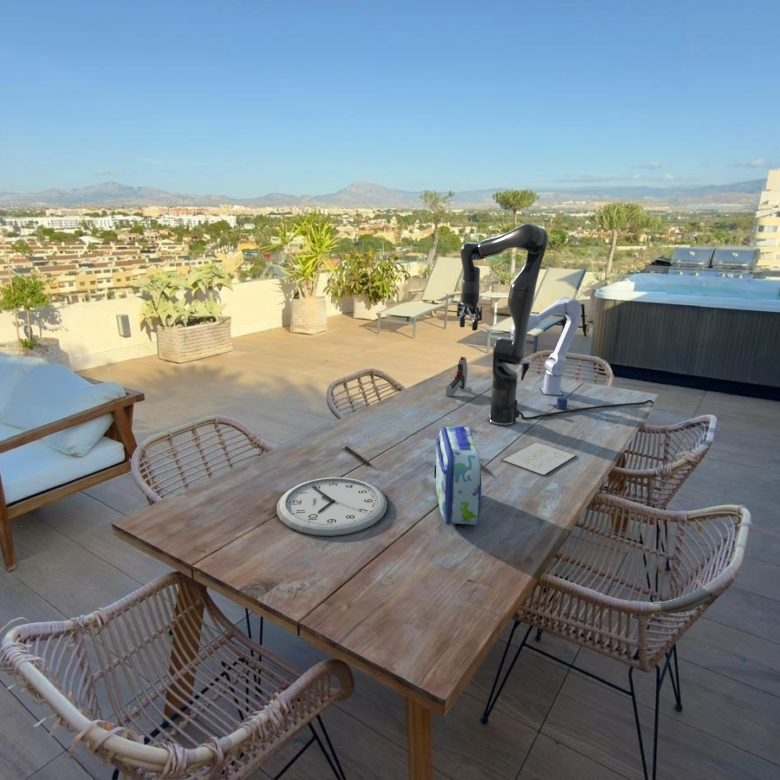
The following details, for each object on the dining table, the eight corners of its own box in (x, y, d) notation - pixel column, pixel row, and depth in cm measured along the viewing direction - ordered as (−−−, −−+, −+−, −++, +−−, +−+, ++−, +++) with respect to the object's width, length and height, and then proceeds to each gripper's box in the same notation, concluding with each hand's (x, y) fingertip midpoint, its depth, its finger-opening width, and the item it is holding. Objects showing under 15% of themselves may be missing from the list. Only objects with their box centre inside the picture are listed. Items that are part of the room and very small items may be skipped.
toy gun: (446, 363, 232) (463, 355, 243) (446, 397, 237) (462, 387, 249) (450, 364, 230) (467, 356, 242) (450, 398, 236) (466, 388, 247)
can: (554, 407, 225) (555, 397, 224) (561, 405, 227) (563, 396, 225) (560, 410, 222) (561, 400, 220) (568, 408, 223) (569, 399, 222)
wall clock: (392, 527, 129) (268, 531, 127) (391, 533, 130) (269, 537, 127) (383, 473, 158) (282, 475, 155) (383, 478, 158) (282, 480, 156)
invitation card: (535, 442, 186) (575, 454, 176) (535, 442, 187) (575, 455, 176) (502, 459, 172) (543, 474, 162) (502, 460, 172) (543, 475, 162)
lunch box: (432, 483, 156) (435, 417, 149) (468, 484, 156) (473, 418, 149) (439, 532, 131) (443, 455, 125) (482, 533, 131) (488, 456, 124)
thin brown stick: (344, 448, 179) (344, 445, 179) (346, 448, 179) (346, 445, 179) (367, 464, 167) (367, 462, 167) (368, 464, 167) (368, 461, 167)
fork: (483, 474, 162) (483, 469, 161) (463, 454, 176) (463, 448, 176) (491, 474, 162) (491, 468, 162) (470, 453, 177) (470, 447, 176)
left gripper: (488, 292, 219) (485, 330, 224) (466, 289, 231) (464, 325, 236) (474, 293, 216) (471, 332, 221) (453, 289, 227) (451, 326, 232)
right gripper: (500, 352, 234) (498, 381, 238) (533, 353, 233) (530, 382, 237) (499, 348, 241) (497, 376, 245) (531, 349, 239) (528, 378, 243)
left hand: (468, 328), depth 228 cm, fingers open, 8 cm apart
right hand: (513, 379), depth 241 cm, fingers open, 7 cm apart
